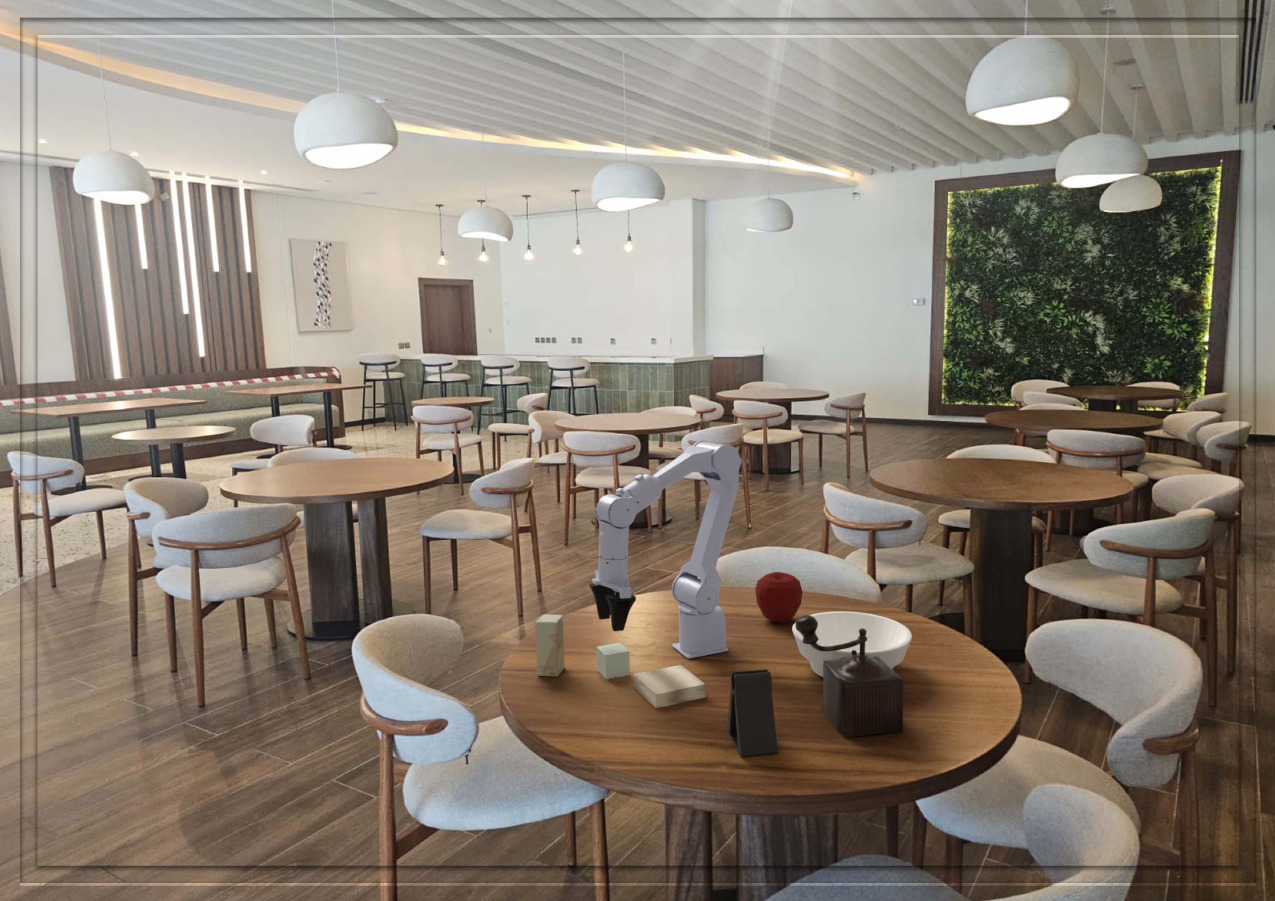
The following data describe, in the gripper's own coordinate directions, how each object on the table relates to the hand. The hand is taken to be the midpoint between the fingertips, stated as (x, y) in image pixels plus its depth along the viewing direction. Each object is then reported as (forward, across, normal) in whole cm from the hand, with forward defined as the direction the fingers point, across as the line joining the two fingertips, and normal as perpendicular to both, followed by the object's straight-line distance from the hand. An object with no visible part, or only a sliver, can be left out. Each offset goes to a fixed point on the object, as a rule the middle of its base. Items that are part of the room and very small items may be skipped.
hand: (611, 624), depth 159 cm
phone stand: (+10, +36, +11) cm, 39 cm away
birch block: (+10, +13, +7) cm, 18 cm away
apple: (+7, -10, +46) cm, 47 cm away
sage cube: (+10, 0, +1) cm, 10 cm away
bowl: (+7, +20, +43) cm, 48 cm away
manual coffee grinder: (+8, +37, +29) cm, 48 cm away
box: (+11, -6, -10) cm, 16 cm away
